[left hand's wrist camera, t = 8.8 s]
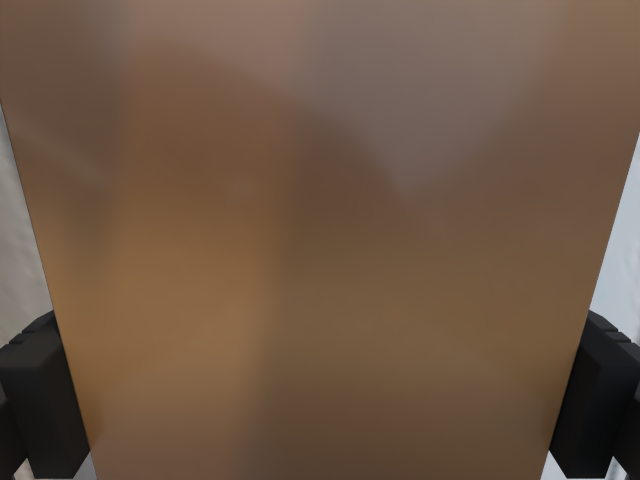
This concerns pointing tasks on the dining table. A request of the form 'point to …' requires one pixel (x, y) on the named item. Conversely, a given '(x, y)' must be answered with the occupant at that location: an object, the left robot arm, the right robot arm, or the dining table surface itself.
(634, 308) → the dining table surface
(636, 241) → the dining table surface
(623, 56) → the wooden beam
